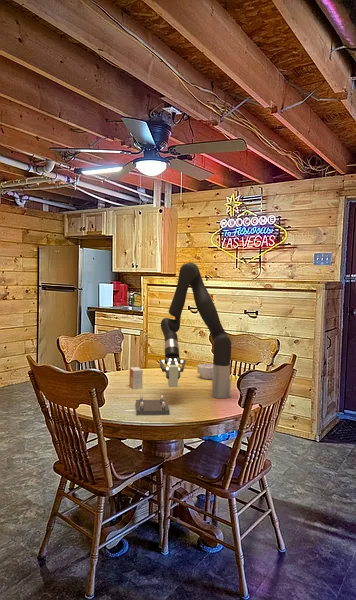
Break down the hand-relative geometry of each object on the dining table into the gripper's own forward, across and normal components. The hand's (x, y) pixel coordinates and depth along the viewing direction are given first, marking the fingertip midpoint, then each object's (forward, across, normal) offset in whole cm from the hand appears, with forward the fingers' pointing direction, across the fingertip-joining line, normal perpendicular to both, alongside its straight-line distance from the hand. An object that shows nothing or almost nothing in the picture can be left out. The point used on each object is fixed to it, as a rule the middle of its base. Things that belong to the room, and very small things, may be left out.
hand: (173, 378), depth 207 cm
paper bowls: (-30, +29, +49) cm, 64 cm away
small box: (-14, -18, +33) cm, 40 cm away
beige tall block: (+2, 0, +4) cm, 4 cm away
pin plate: (+15, -11, +4) cm, 18 cm away
